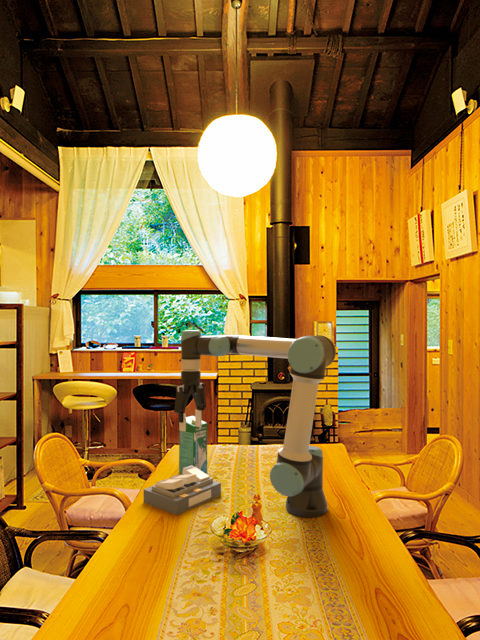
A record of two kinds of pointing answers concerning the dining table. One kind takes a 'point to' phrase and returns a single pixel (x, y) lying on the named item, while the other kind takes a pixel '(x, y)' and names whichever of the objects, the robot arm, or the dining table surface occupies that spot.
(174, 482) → the rocker
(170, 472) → the dining table surface
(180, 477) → the rocker
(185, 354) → the robot arm
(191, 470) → the rocker
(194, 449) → the milk carton
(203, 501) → the switch unit
